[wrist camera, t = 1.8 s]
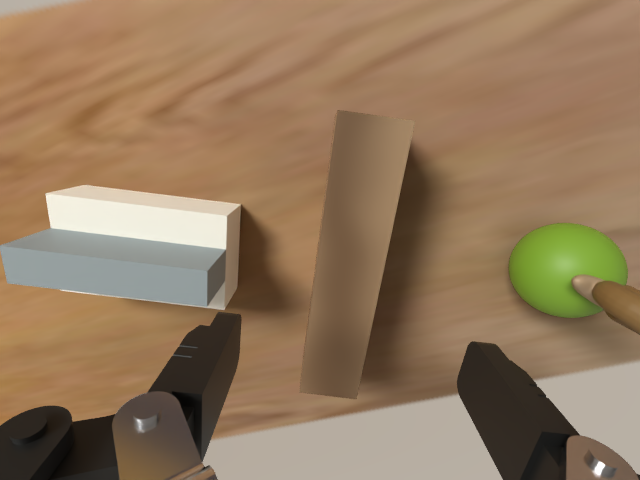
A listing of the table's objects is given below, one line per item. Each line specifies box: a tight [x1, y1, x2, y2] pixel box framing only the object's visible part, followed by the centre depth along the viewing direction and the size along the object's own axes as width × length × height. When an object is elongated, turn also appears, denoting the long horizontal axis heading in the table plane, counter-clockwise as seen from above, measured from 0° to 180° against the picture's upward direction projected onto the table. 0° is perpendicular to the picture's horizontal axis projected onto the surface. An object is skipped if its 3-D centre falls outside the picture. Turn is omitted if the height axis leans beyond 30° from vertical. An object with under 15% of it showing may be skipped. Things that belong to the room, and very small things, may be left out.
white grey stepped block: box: [0, 185, 241, 310], centre depth 19 cm, size 10×6×6 cm, turn 83°
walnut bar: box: [299, 110, 415, 399], centre depth 19 cm, size 4×16×5 cm, turn 173°
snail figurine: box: [509, 223, 640, 335], centre depth 15 cm, size 5×6×12 cm
